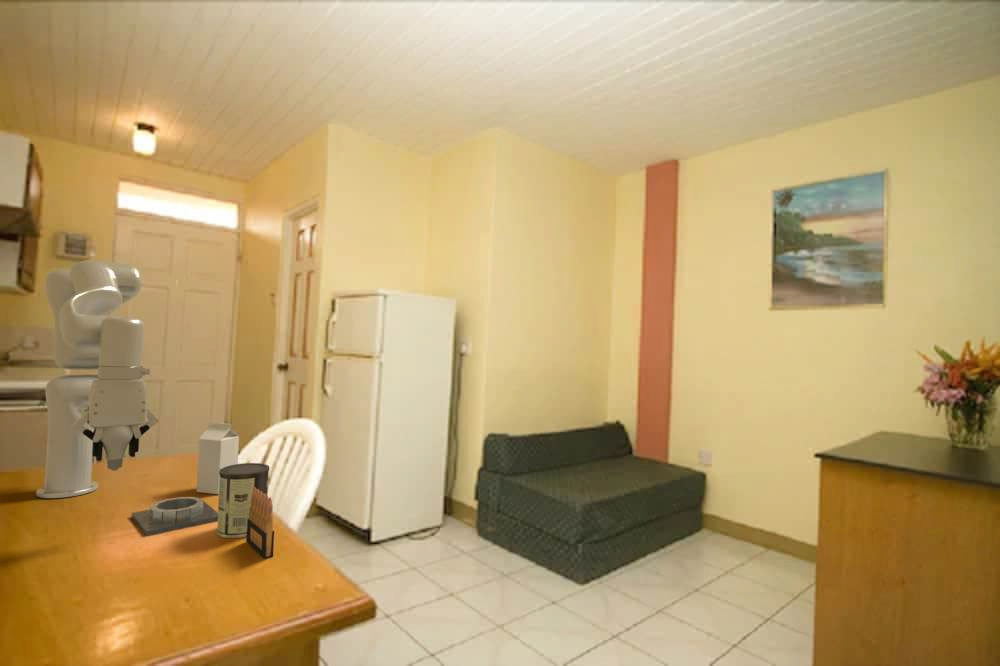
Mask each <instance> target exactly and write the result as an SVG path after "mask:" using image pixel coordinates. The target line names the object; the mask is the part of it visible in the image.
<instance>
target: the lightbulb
mask: <svg viewBox="0 0 1000 666" xmlns="http://www.w3.org/2000/svg"><path fill="white" fill-rule="evenodd" d="M132 437H133V430H132V427H131V426H126V425H115V426H111V427H107V428H105V429H104V430H103V432H102V434H101V438H100V441H101V442H103V449H104V452H105V459H106V460H107V461H106V463H107V469H109V470H111V471H114V472H115V471H117V470H119V469H120V468H122V467H123V464H124V462H123V460H124V458H125V453H126V451H127V450H126V449H127V447H128V446H129V442H130V441H131V439H132Z"/></svg>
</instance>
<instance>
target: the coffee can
mask: <svg viewBox="0 0 1000 666" xmlns="http://www.w3.org/2000/svg"><path fill="white" fill-rule="evenodd" d="M269 472H270V466H269V465H267V464H265V463H261V462H260V463H259V462H257V463H256V462H251V463H250V462H247V463H238V464H235V465H230V466H227V467H224V468H222V469H220V470H219V474H220V481H219V494H218V509H217V513H218V521H217V526H216V527H217V528H216V534H217V536H219V537H221V538H224V539H225V538H226V539H242V538H246V537H247V523H248V519H249V512H250V505H251V497H252V492H253V489H254V487H256V489H259V492H260V491H262V494H263V493H265V496H266V495H268V494H269V493H268V492H269V474H270V473H269Z"/></svg>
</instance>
